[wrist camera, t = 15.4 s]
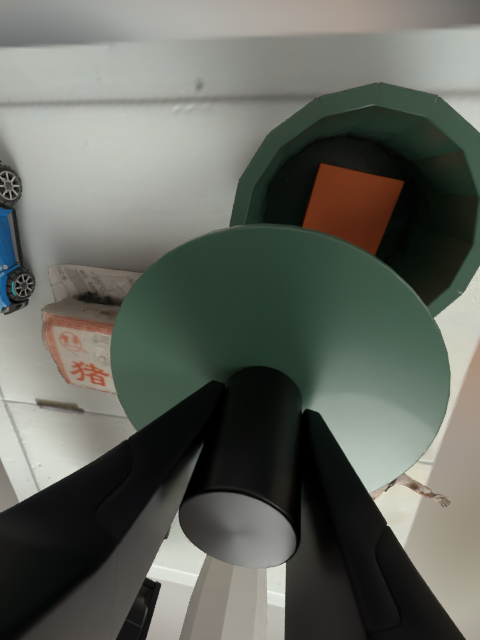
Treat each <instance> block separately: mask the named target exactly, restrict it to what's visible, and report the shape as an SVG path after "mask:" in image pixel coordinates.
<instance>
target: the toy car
mask: <svg viewBox="0 0 480 640" xmlns="http://www.w3.org/2000/svg"><path fill="white" fill-rule="evenodd" d="M0 162H1V160H0ZM21 192H22V186H21V181H20V178H19V177H18V175H17V173H16V172H15V171H14V170H12V169H11V167H9V166H7V165H2V164H0V204H3V205H11V204H15V203H16V202H17V201H18V199H20V197H21ZM20 267H23V260H22V253H21V246H20V239H19V232H18V225H17V218H16V211H15V208H9V207H4V206H0V313H4V315H7V314H10V313H12V312H14V311H17V310H19V309H22V308H24V307H25V306H27V305H28V300H29V299H26V298H29V297H30V296H31V293H33V291H34V287H35V281H34V280H35V279H34V276H33V275H31V274H32V273H31V272H30V271H29V270H26V269H22V268H20ZM18 280H19V281H18Z"/></svg>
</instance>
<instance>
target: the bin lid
mask: <svg viewBox="0 0 480 640" xmlns="http://www.w3.org/2000/svg"><path fill="white" fill-rule="evenodd" d="M110 363H111V371H112V377H113V382H114V386H115V389H116V392H117V395H118V398H119V400H120V403H121V405H122V407H123V409H124V411H125V413H126V415H127V417H128V418H129V420H130V421H131V423H132V425H133V426H134V428H135V429H136V431H137V432H138V431H139V430H141V429H142V428H144V427H145V426H146V425H148V424H149V423H151V422H152V421H154V420H155V419H157V418H158V417H159V416H161V415H162V414H164V413H165V412H167V411H168V410H170V409H171V408H172V407H174V406H175V405H177V404H178V403H180V402H181V401H182V400H184V399H185V398H187V397H188V396H190V395H191V394H193V393H194V392H195V391H197V390H198V389H200V388H201V387H203V386H204V385H205V384H207V383H208V382H210V381H211V380H216V381H219V382H223V383H224V384H225V389H224V392H223V395H222V397H221V400H220V402H219V405H218V408H217V410H216V413H215V416H214V418H213V421H212V423H211V426H210V428H209V430H208V433H207V436H206V438H205V441H204V443H203V446H202V449H201V451H200V454H199V457H198V459H197V462H196V464H195V467H194V470H193V472H192V475H191V478H190V480H189V483H188V485H187V488H186V491H185V493H184V496H183V499H182V501H181V504H180V507H179V523H180V526H181V528H182V530H183V532H184V534H185V535H186V537H187V538H188V539H189V540H190V541H191V542H192V543H193V544H194V545H195V546H196V547H197V548H199V549H200V550H201V551H203V552H204V553H206V554H208V555H210V556H211V557H213V558H215V559H217V560H220V561H222V562H225V563H228V564H231V565H235V566H240V567H246V568H269V567H274V566H278V565H281V564H283V563H285V562H287V561H288V560H290V559H291V558H292V557H293V556H294V555H295V553H296V552H297V550H298V548H299V545H300V541H301V480H302V414H303V411H304V410H305V409H310V410H313V411H317V412H319V413H320V414H321V416H322V418H323V419H324V421H325V422H326V424H327V426H328V427H329V429H330V431H331V432H332V434H333V436H334V437H335V439H336V440H337V442H338V444H339V445H340V447H341V449H342V450H343V452H344V453H345V455H346V457H347V458H348V460H349V462H350V463H351V465H352V467H353V468H354V470H355V471H356V473H357V475H358V476H359V478H360V480H361V481H362V483H363V484H364V486H365V488H366V489H367V491H368V493H369V494H370V493H372V492H374V491H376V490H378V489H380V488H382V487H384V486H386V485H387V484H389V483H390V482H392V481H393V480H395V479H396V478H398V477H400V476H401V475H402V474H404V473H405V472H406V471H407V470H408V469H409V468H410V467H412V466H413V465H414V464H415V463H416V462H417V461H418V460H419V459H420V457H421V456H422V455H423V454H424V453H425V452H426V450H427V449H428V448H429V446H430V445H431V443H432V441H433V440H434V438H435V437H436V435H437V433H438V432H439V429H440V427H441V424H442V422H443V419H444V417H445V414H446V410H447V405H448V401H449V396H450V375H451V373H450V366H449V359H448V352H447V349H446V346H445V343H444V340H443V337H442V334H441V331H440V329H439V327H438V325H437V324H436V322H435V320H434V318H433V316H432V314H431V312H430V311H429V309H428V308H427V306H426V305H425V304H424V302H423V301H422V300H421V298H420V297H419V296H418V295H417V293H416V292H415V291H414V289H413V288H412V287H411V286H410V285H409V284H408V283H407V282H406V281H405V280H404V279H403V278H401V277H400V276H399V275H398V274H397V273H396V272H395V271H394V270H393V269H392V268H391V267H390V266H388V265H387V264H386V263H384V262H383V261H381V260H380V259H378V258H377V257H376V256H374V255H373V254H371V253H370V252H368V251H367V250H365V249H363V248H361V247H359V246H357V245H355V244H353V243H351V242H349V241H347V240H345V239H342V238H339V237H336V236H333V235H331V234H328V233H325V232H322V231H319V230H315V229H309V228H304V227H299V226H294V225H285V224H266V223H262V224H249V225H237V226H233V227H229V228H224V229H220V230H215V231H212V232H209V233H206V234H204V235H201V236H199V237H196V238H193V239H191V240H189V241H187V242H185V243H184V244H182V245H180V246H178V247H176V248H175V249H173V250H171V251H169V252H168V253H166V254H165V255H163V256H162V257H161V258H159V259H158V260H157V261H156V262H154V263H153V264H152V265H151V266H149V267H148V268H147V269H146V270H145V272H144V273H143V274H142V275H141V276H140V277H139V278H138V279H137V280H136V281H135V283H134V284H133V286H132V287H131V289H130V290H129V292H128V293H127V295H126V296H125V298H124V300H123V302H122V304H121V306H120V309H119V311H118V313H117V315H116V319H115V323H114V326H113V330H112V335H111V345H110Z"/></svg>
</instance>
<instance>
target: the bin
mask: <svg viewBox="0 0 480 640" xmlns="http://www.w3.org/2000/svg"><path fill="white" fill-rule="evenodd" d="M320 163H325V164H330V165H334V166H339V167H343V168H348V169H352V170H357V171H361V172H366V173H370V174H375V175H380V176H384V177H389V178H393V179H398V180H402V181H405V183H404V185H403V188H402V190H401V193H400V195H399V198H398V200H397V203H396V205H395V207H394V210H393V212H392V215H391V217H390V220H389V222H388V225H387V227H386V230H385V232H384V235H383V237H382V240H381V242H380V245H379V247H378V250H377V252H376V254H375V256H376V257H377V258H378V259H380V260H381V261H383V262H384V263H386V264H387V265H388V266H390V267H391V268H392V269H393V270H394V271H395V272H396V273H397V274H398V275H399V276H400V277H401V278H403V279H404V280H405V281H406V282H407V283H408V284H409V285H410V286H411V287H412V288H413V289H414V291H415V292H416V293H417V295H418V296H419V297H420V298H421V300H422V301H423V302H424V304H425V305H426V306H427V308H428V309H429V311H430V312H431V314H432V316H433V318H434V317H435V316H437V315H438V314H439V313H440V312H441V311H443V310H444V309H445V308H446V307H447V306H449V305H450V304H451V303H452V302H453V301H455V300H456V299H457V298H458V297H459V296H461V295H462V293H464V291H465V289H466V288H467V286H468V284H469V283H470V281H471V279H472V278H473V276H474V274H475V273H476V271H477V269H478V268H479V266H480V133H479V132H478V131H477V130H476V129H475V128H474V127H473V126H472V125H471V124H470V123H468V122H467V121H466V120H465V119H464V118H463V117H462V116H461V115H460V114H459V113H457V112H456V111H455V110H454V109H453V108H452V107H451V106H450V105H449V104H448V103H446V102H445V101H444V100H443V99H442V98H441V97H438V95H435V94H430V93H426V92H422V91H417V90H413V89H408V88H404V87H399V86H395V85H391V84H386V83H382V82H380V83H379V84H378V83H373V84H369V85H365V86H361V87H357V88H352V89H348V90H344V91H340V92H336V93H332V94H327V95H323V96H320V97H319V98H315V99H314V100H313V101H311V102H310V103H309V104H307V105H306V106H305V107H303V108H302V109H301V110H299V111H298V112H296V113H295V114H294V115H292V116H291V117H290V118H288V119H287V120H286V121H284V122H283V123H282V124H280V125H279V126H278V127H276V128H275V129H273V130H272V131H271V132H270V133H269V134H268V135H267V136H266V138H265V140H264V141H263V143H262V144H261V146H260V148H259V149H258V151H257V152H256V154H255V155H254V157H253V159H252V160H251V162H250V163H249V165H248V166H247V168H246V170H245V171H244V173H243V174H242V176H241V177H240V179H239V182H238V186H237V190H236V195H235V200H234V205H233V210H232V215H231V220H230V225H229V227H233V226H237V225H249V224H262V223H266V224H285V225H294V226H299V227H300V226H301V222H302V219H303V215H304V212H305V208H306V205H307V201H308V197H309V194H310V190H311V187H312V183H313V180H314V176H315V173H316V169H317V166H318V165H319V164H320Z"/></svg>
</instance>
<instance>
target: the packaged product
mask: <svg viewBox="0 0 480 640" xmlns="http://www.w3.org/2000/svg"><path fill="white" fill-rule="evenodd" d="M48 271H49V276H50V282H51V286H52V289H53V293H54V299H55V303H52V304H49V305H46V306H45V307H44V308H43V309H42V310H41V311H42V322H43V325H42V339H43V342H44V345H45V346H46V348H47V350H49V351H50V353H51V356H52V358H53V359H54V361H55V363H56V364H57V366H58V367H57V368H58V369H59V370H58V371H59V373H60V374H61V375H62V377H63V378H64V379H65V381H66V382H67V383H70V384H74V385H78V386H82V387H86V388H90V389H95V390H100V391H104V392H109V393H113V394H117V392H116V389H115V386H114V382H113V377H112V371H111V363H110V345H111V335H112V330H113V326H114V323H115V319H116V315H117V313H118V311H119V309H120V306H121V304H122V302H123V300H124V298H125V296H126V295H127V293H128V292H129V290H130V289H131V287H132V286H133V284H134V283H135V281H136V280H137V279H138V278H139V277H140V276H141V275H142V274H143V273H138V272H130V271H121V270H113V269H105V268H97V267H89V266H81V265H72V264H57V265H50V266H48Z"/></svg>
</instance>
